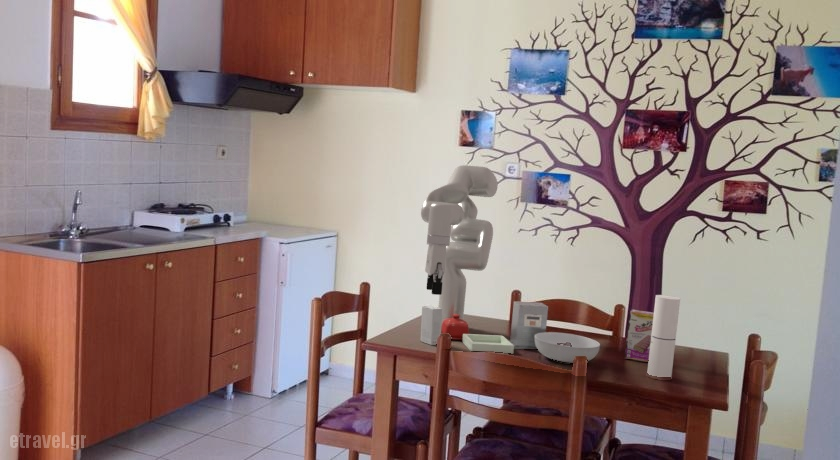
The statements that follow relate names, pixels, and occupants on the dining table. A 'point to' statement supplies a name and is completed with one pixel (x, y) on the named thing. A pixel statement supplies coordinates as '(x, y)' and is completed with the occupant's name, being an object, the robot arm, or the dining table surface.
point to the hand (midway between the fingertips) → (433, 292)
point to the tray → (487, 343)
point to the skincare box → (430, 324)
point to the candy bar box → (639, 334)
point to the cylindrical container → (663, 336)
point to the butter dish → (455, 327)
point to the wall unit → (527, 323)
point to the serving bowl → (580, 346)
